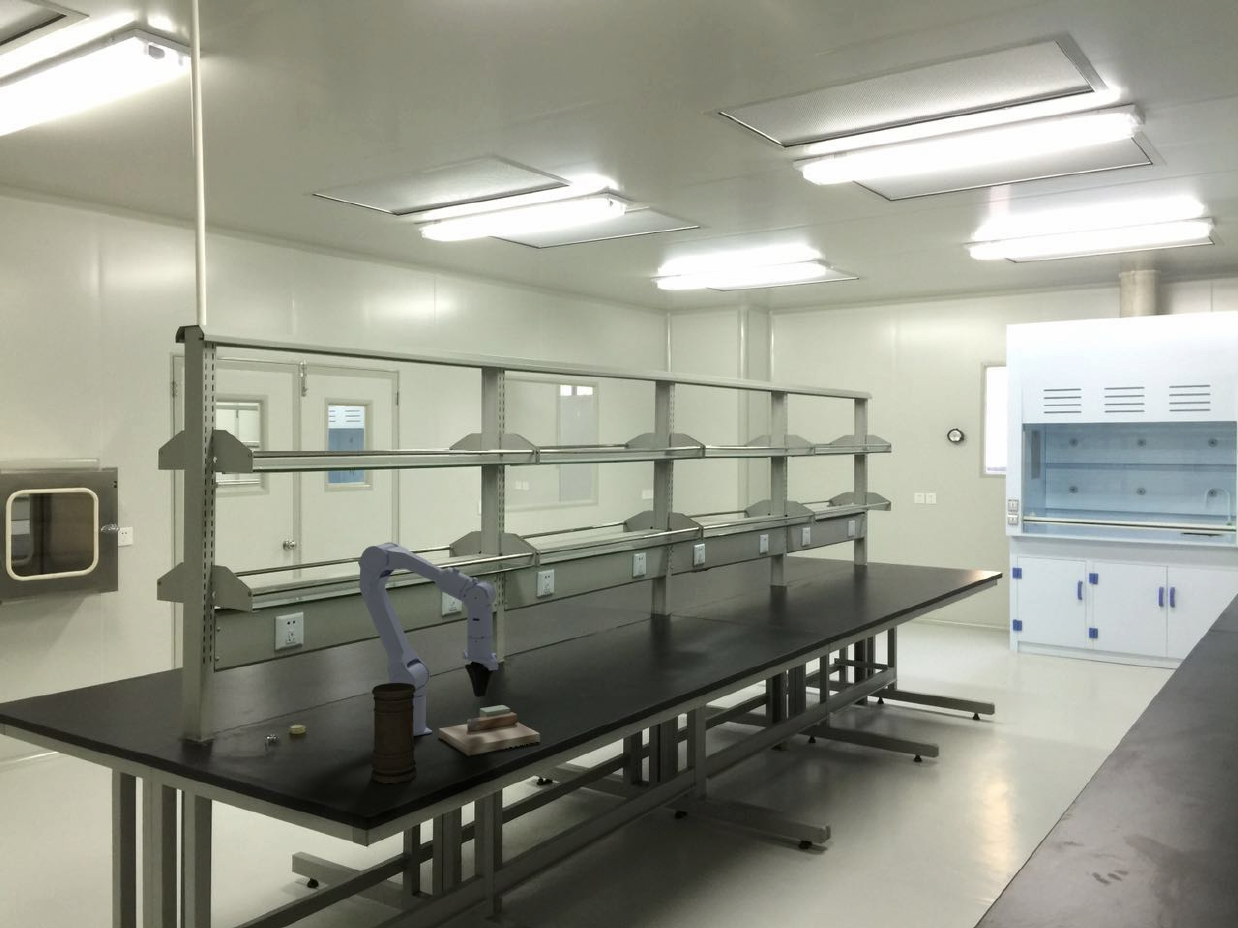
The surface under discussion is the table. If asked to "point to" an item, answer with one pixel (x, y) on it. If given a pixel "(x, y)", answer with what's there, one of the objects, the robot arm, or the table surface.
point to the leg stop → (494, 710)
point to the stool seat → (488, 738)
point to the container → (393, 733)
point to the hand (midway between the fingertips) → (479, 695)
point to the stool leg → (491, 721)
